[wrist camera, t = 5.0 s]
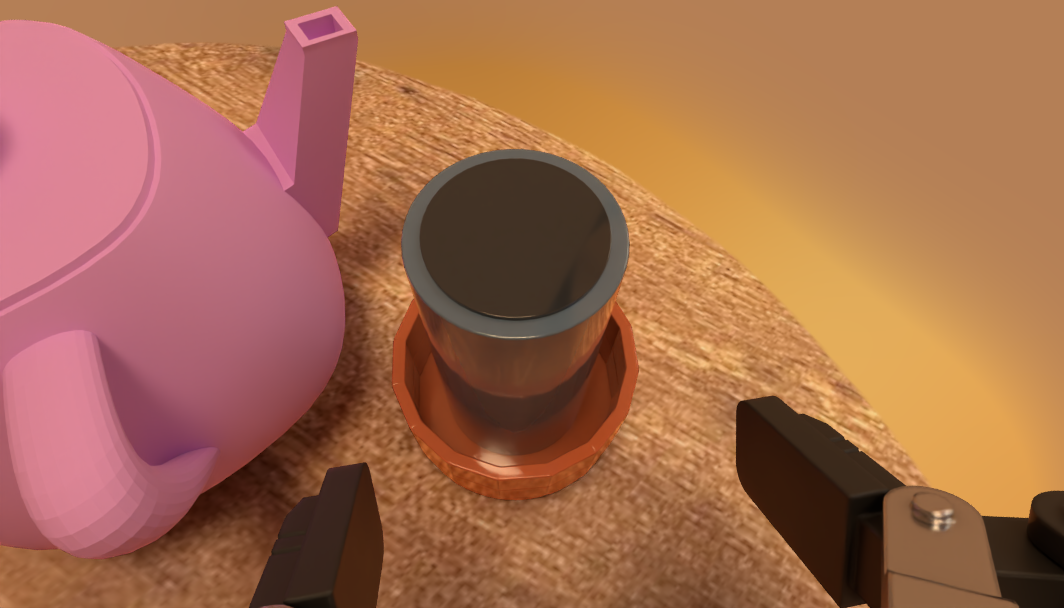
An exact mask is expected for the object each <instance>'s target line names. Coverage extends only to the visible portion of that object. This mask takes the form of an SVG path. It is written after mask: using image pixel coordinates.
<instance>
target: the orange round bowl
mask: <svg viewBox="0 0 1064 608" xmlns="http://www.w3.org/2000/svg"><path fill="white" fill-rule="evenodd" d="M638 373H639V366H638V360H637V354H636V348H635V343H634V337H633V331H632V327H631V324H630V323H629V321H628V319H627V318H626V316H625V315H624V313H623V312H622V310H621V309H620V307H619V305H618V304H617V302H616V301H615V304H614V307H613V310H612V313H611V317H610V320H609V323H608V326H607V329H606V332H605V335H604V338H603V341H602V344H601V347H600V350H599V353H598V356H597V359H596V362H595V365H594V368H593V371H592V374H591V377H590V380H589V383H588V386H587V389H586V392H585V395H584V398H583V401H582V404H581V407H580V410H579V413H578V416H577V418H576V420H575V421H574V423H573V425H572V426H571V428H570V429H569V430H568V432H567V433H566V434H565V435H564V436H563V437H562V438H561V439H559V440H558V441H557V442H556V443H554V444H553V445H551V446H549V447H548V448H546V449H543V450H541V451H539V452H535V453H532V454H527V455H512V456H511V455H503V454H498V453H494V452H491V451H489V450H486V449H484V448H482V447H480V446H479V445H477V444H475V443H474V442H473V441H472V440H470V439H469V438H468V437H467V436H466V435H465V434H464V433H463V432H462V431H461V429H460V428H459V427H458V425H457V424H456V422H455V420H454V418H453V416H452V413H451V411H450V408H449V405H448V402H447V398H446V395H445V392H444V389H443V386H442V383H441V380H440V377H439V374H438V370H437V367H436V364H435V361H434V358H433V355H432V352H431V349H430V346H429V343H428V339H427V336H426V333H425V330H424V327H423V324H422V321H421V318H420V315H419V311H418V308H417V305H416V302H415V299H413V300H412V302H411V304H410V306H409V308H408V310H407V312H406V315H405V317H404V319H403V321H402V323H401V325H400V327H399V329H398V331H397V333H396V335H395V338H394V341H393V363H392V388H393V390H394V392H395V395H396V397H397V400H398V402H399V404H400V407H401V409H402V411H403V414H404V416H405V419H406V421H407V423H408V426H409V428H410V430H411V432H412V433H413V435H414V437H415V439H416V440H417V442H418V444H419V445H420V447H421V449H422V451H423V452H424V454H425V455H426V456H427V457H428V458H429V459H430V460H431V461H432V462H433V463H434V464H435V465H436V466H437V467H438V468H439V469H440V471H441V472H442V473H444V474H445V475H446V476H447V477H449V478H450V479H451V480H452V481H454V482H455V483H456V484H458V485H460V486H462V487H464V488H465V489H468V490H470V491H472V492H475V493H477V494H480V495H483V496H487V497H491V498H496V499H504V500H525V499H532V498H538V497H541V496H545V495H548V494H552V493H554V492H556V491H558V490H561V489H563V488H565V487H567V486H568V485H570V484H571V483H573V482H575V481H576V480H578V479H579V478H580V477H582V476H584V475H585V474H586V473H587V472H588V471H589V470H590V468H591V467H592V466H593V465H594V464H595V463H596V462H597V461H598V459H599V458H600V456H601V455H602V453H603V452H604V451H605V449H606V448H607V447H608V446H609V444H610V443H611V442H612V440H613V439H614V437H615V435H616V433H617V432H618V430H619V428H620V427H621V425H622V423H623V421H624V420H625V418H626V416H627V414H628V412H629V408H630V404H631V400H632V396H633V392H634V388H635V384H636V380H637V376H638Z"/></svg>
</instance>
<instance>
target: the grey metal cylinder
mask: <svg viewBox="0 0 1064 608" xmlns="http://www.w3.org/2000/svg"><path fill="white" fill-rule="evenodd" d="M629 246H630V242H629V233H628V228H627V224H626V220H625V218H624V215H623V213H622V211H621V208H620V206H619V205H618V203H617V201H616V200H615V198H614V196H613V195H612V194H611V193H610V191H609V190H608V189H607V188H606V186H605V185H604V184H603V183H601V182H600V181H599V180H598V179H597V178H596V177H595V176H594V175H592V174H591V173H590V172H588V171H587V170H586V169H584V168H582V167H580V166H579V165H577V164H575V163H573V162H571V161H569V160H566V159H564V158H562V157H559V156H556V155H553V154H550V153H545V152H540V151H535V150H525V149H505V150H495V151H490V152H484V153H480V154H477V155H474V156H471V157H468V158H466V159H463V160H461V161H459V162H456V163H455V164H453V165H451V166H449V167H448V168H446V169H444V170H443V171H442V172H440V173H439V174H438V175H436V176H435V177H434V178H433V179H432V180H431V181H430V182H428V183H427V184H426V185H425V187H424V188H423V189H422V190H421V191H420V193H419V194H418V195H417V197H416V198H415V200H414V202H413V203H412V205H411V207H410V209H409V211H408V214H407V216H406V218H405V222H404V226H403V230H402V239H401V250H402V259H403V263H404V268H405V271H406V274H407V277H408V280H409V283H410V287H411V290H412V293H413V296H414V299H415V302H416V305H417V308H418V311H419V315H420V318H421V321H422V324H423V327H424V330H425V333H426V336H427V339H428V343H429V346H430V349H431V352H432V355H433V358H434V361H435V364H436V367H437V370H438V374H439V377H440V380H441V383H442V386H443V389H444V392H445V395H446V398H447V402H448V405H449V408H450V411H451V413H452V416H453V418H454V420H455V422H456V424H457V425H458V427H459V428H460V429H461V431H462V432H463V433H464V434H465V435H466V436H467V437H468V438H469V439H470V440H472V441H473V442H474V443H475V444H477V445H479V446H480V447H482V448H484V449H486V450H489V451H491V452H494V453H498V454H503V455H511V456H512V455H527V454H532V453H535V452H539V451H541V450H543V449H546V448H548V447H549V446H551V445H553V444H554V443H556V442H557V441H558V440H559V439H561V438H562V437H563V436H564V435H565V434H566V433H567V432H568V430H569V429H570V428H571V426H572V425H573V423H574V421H575V420H576V418H577V416H578V413H579V410H580V407H581V404H582V401H583V398H584V395H585V392H586V389H587V386H588V383H589V380H590V377H591V374H592V371H593V368H594V365H595V362H596V359H597V356H598V353H599V350H600V347H601V344H602V341H603V338H604V335H605V332H606V329H607V326H608V323H609V320H610V317H611V313H612V310H613V307H614V304H615V301H616V298H617V295H618V292H619V289H620V286H621V283H622V280H623V277H624V274H625V271H626V268H627V263H628V258H629Z"/></svg>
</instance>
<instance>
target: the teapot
mask: <svg viewBox="0 0 1064 608" xmlns="http://www.w3.org/2000/svg"><path fill="white" fill-rule="evenodd" d="M284 24H285V27H286V34H285V37H284V40H283V43H282V46H281V49H280V52H279V55H278V58H277V61H276V64H275V67H274V70H273V73H272V76H271V79H270V83H269V86H268V89H267V92H266V95H265V98H264V101H263V104H262V107H261V110H260V113H259V116H258V119H257V122H256V124H254V125H253V126H251V127H250V128H248V129H246V130H245V131H243V132H242V131H241V130H240V129H239V128H238V127H236V126H235V125H234V124H233V123H231V122H230V121H229V120H228V119H226V118H225V117H223V116H222V115H221V114H219V113H218V112H216V111H215V110H214V109H212V108H211V107H209V106H208V105H206V104H205V103H203V102H202V101H200V100H199V99H197V98H196V97H194V96H192V95H191V94H189V93H188V92H186V91H185V90H183V89H181V88H180V87H178V86H176V85H175V84H173V83H172V82H170V81H168V80H167V79H165V78H163V77H162V76H160V75H158V74H156V73H155V72H153V71H151V70H150V69H148V68H146V67H145V66H143V65H141V64H139V63H138V62H136V61H134V60H133V59H131V58H129V57H127V56H126V55H124V54H122V53H120V52H119V51H117V50H115V49H113V48H111V47H108V46H107V45H105V44H103V43H101V42H99V41H96V40H94V39H92V38H90V37H88V36H86V35H84V34H82V33H79V32H77V31H75V30H73V29H70V28H68V27H64V26H60V25H57V24H53V23H45V22H38V21H30V20H6V21H0V545H4V546H9V547H17V548H25V549H33V550H46V549H61V550H63V551H65V552H67V553H69V554H71V555H73V556H76V557H80V558H91V559H105V558H110V557H115V556H119V555H123V554H128V553H131V552H133V551H135V550H137V549H140V548H142V547H144V546H146V545H148V544H150V543H152V542H154V541H156V540H157V539H159V538H160V537H161V536H163V535H164V534H165V533H167V532H168V531H169V530H170V529H172V528H173V527H174V526H175V525H176V524H177V523H178V522H179V521H180V520H181V519H182V518H183V517H184V516H185V515H186V513H187V512H188V511H189V509H190V508H191V507H192V505H193V504H194V502H195V501H196V499H197V498H198V496H199V495H200V494H202V493H203V492H205V491H207V490H208V489H210V488H212V487H214V486H215V485H217V484H219V483H220V482H222V481H223V480H224V479H226V478H227V477H229V476H230V475H232V474H233V473H234V472H236V471H237V470H239V469H240V468H241V467H243V466H244V465H246V464H247V463H249V462H250V461H251V460H252V459H254V458H255V457H256V456H257V455H259V454H260V453H261V452H262V451H264V450H265V449H266V448H267V447H268V446H270V445H271V444H272V443H273V442H275V441H276V440H277V439H278V438H280V437H281V436H282V435H283V434H284V433H285V432H286V431H287V430H288V429H289V428H290V427H291V426H292V425H293V424H295V423H296V422H297V421H298V420H299V419H300V418H301V417H302V416H303V415H304V414H305V413H306V412H307V411H308V410H309V409H310V407H311V406H312V405H313V403H314V402H315V401H316V399H317V398H318V397H319V396H320V394H321V393H322V392H323V390H324V389H325V387H326V385H327V383H328V381H329V380H330V378H331V376H332V374H333V372H334V370H335V368H336V365H337V362H338V359H339V356H340V353H341V350H342V345H343V338H344V331H345V299H344V291H343V285H342V279H341V274H340V270H339V267H338V263H337V260H336V257H335V253H334V250H333V248H332V246H331V244H330V241H329V239H328V237H329V236H330V235H332V234H333V233H335V232H336V231H338V224H339V215H340V205H341V196H342V186H343V177H344V167H345V158H346V148H347V139H348V130H349V120H350V111H351V101H352V92H353V82H354V73H355V63H356V54H357V44H358V36H357V31H356V29H355V28H354V27H353V26H352V24H351V23H350V22H349V21H348V19H347V18H346V17H345V16H344V14H343V13H342V12H341V11H340V9H339V8H338V7H337V6H336V7H332V8H329V9H326V10H322V11H319V12H315V13H312V14H308V15H305V16H302V17H298V18H295V19H291V20H288V21H284Z"/></svg>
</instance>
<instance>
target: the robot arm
mask: <svg viewBox="0 0 1064 608" xmlns="http://www.w3.org/2000/svg"><path fill="white" fill-rule="evenodd" d="M736 467H737V473H738V477H739V480H740V482H741V485H742V487H743V489H744V490H745V492H746V493H747V494H748V496H749V497H750V498H751V499H752V501H753V502H754V503H755V504H756V505H757V507H758V508H759V509H760V510H761V512H762V513H763V514H764V515H765V516H766V518H767V519H768V520H769V521H770V523H771V524H772V525H773V526H774V528H775V529H776V530H777V531H778V532H779V534H780V535H781V536H782V537H783V539H784V540H785V541H786V542H787V543H788V545H789V546H790V547H791V548H792V550H793V551H794V552H795V553H796V554H797V556H798V557H799V558H800V559H801V561H802V562H803V563H804V564H805V566H806V567H807V568H808V569H809V570H810V572H811V573H812V574H813V575H814V577H815V578H816V579H817V580H818V581H819V583H820V584H821V585H822V586H823V588H824V589H825V590H826V591H827V593H828V594H829V595H830V596H831V597H832V599H833V600H834V601H835V602H836V604H837V605H838V606H839V607H840V608H847V607H852V606H857V605H861V604H867V605H868V606H869V607H870V608H1064V491H1048V492H1044V493H1041V494H1038V495H1037V496H1035V497H1034V498H1033V500H1032V504H1031V509H1030V514H1029V518H1014V517H992V516H991V517H990V516H981V515H980V513H979V512H978V511H977V510H976V509H975V508H974V507H973V506H972V505H970V504H969V503H968V502H966V501H964V500H963V499H961V498H959V497H957V496H955V495H953V494H950V493H947V492H945V491H942V490H938V489H934V488H930V487H923V486H906V485H904V484H903V483H902V482H901V481H899V480H898V479H897V478H896V477H894V476H893V475H892V474H890V473H889V472H888V471H887V470H885V469H884V468H883V467H882V466H880V465H879V464H878V463H876V462H875V461H874V460H873V459H871V458H870V457H869V456H868V455H866V454H865V453H864V452H862V451H860V452H859V450H858V448H857V447H856V446H855V445H854V444H852V443H851V442H850V441H848V440H845V439H844V437H843V436H842V435H841V434H840V433H838V432H837V431H836V430H834V429H833V428H832V427H831V426H829V425H828V424H827V423H824V422H822V421H819V420H817V419H815V418H812V417H810V416H808V415H805V414H798V413H796V412H795V411H794V410H793V409H791V408H790V407H789V406H788V405H787V404H785V403H784V402H783V401H782V400H781V399H779V398H778V397H776V396H768V397H762V398H756V399H750V400H744V401H740V402H739V403H738V406H737V410H736ZM383 554H384V543H383V531H382V525H381V520H380V516H379V511H378V506H377V502H376V497H375V493H374V488H373V484H372V479H371V474H370V470H369V467H368V465H367V463H359V464H353V465H347V466H340V467H334V468H329V469H328V470H327V473H326V475H325V478H324V481H323V484H322V487H321V490H320V493H319V495H317V496H311V497H305V498H303V499H302V500H301V501H300V502H299V503H298V504H297V505H296V506H295V507H294V508H293V509H292V510H291V511H290V512H289V513H288V514H287V516H286V517H285V519H284V522H283V524H282V527H281V529H280V532H279V534H278V539H277V540H276V542H275V544H274V547H273V549H272V555H271V556H269V559H268V561H267V564H266V566H265V569H264V571H263V574H262V576H261V579H260V581H259V584H258V586H257V589H256V591H255V594H254V596H253V598H252V601H251V603H250V606H249V608H376V605H377V598H378V591H379V584H380V577H381V570H382V563H383Z"/></svg>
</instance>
